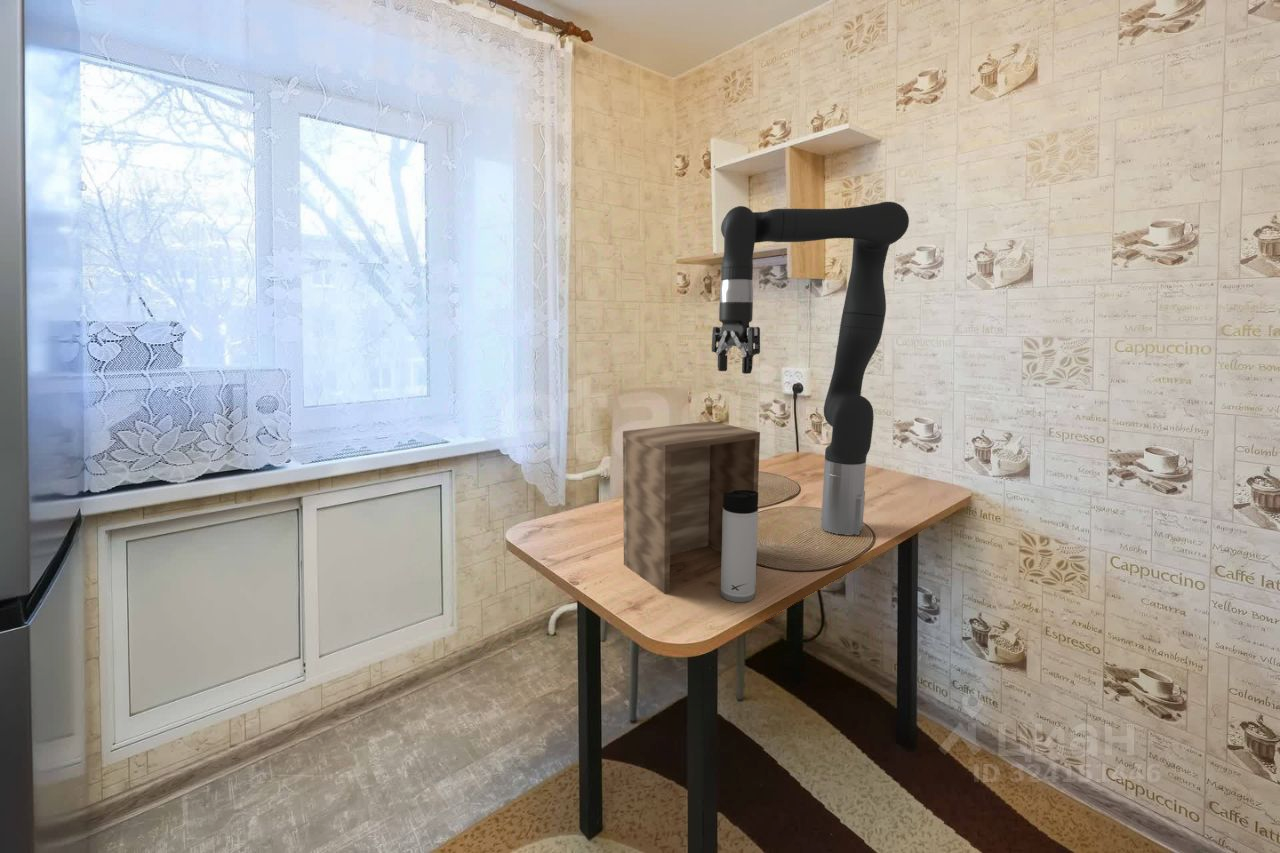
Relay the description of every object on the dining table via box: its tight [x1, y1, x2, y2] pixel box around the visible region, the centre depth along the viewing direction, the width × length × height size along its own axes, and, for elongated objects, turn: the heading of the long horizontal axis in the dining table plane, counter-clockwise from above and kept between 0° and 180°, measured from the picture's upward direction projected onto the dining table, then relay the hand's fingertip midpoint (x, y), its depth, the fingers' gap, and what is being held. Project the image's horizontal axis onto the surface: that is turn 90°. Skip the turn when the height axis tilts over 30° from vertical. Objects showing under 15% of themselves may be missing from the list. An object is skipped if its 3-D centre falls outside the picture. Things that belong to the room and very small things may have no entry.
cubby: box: [622, 420, 761, 594], centre depth 114 cm, size 15×22×28 cm
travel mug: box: [720, 490, 759, 603], centre depth 102 cm, size 6×7×20 cm
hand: (734, 372), depth 131 cm, fingers open, 8 cm apart
